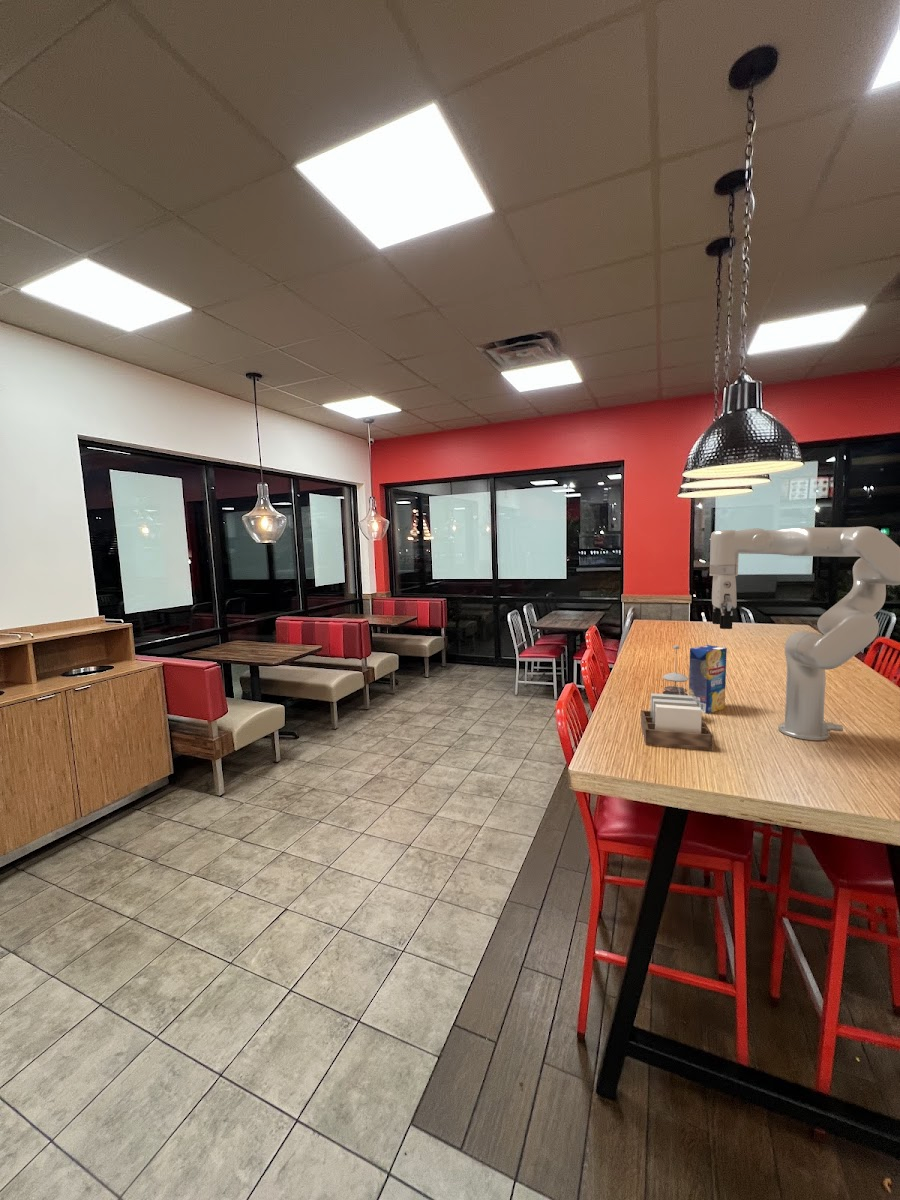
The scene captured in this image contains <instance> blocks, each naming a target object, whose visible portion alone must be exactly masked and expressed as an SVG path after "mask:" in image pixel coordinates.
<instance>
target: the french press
mask: <svg viewBox="0 0 900 1200" xmlns="http://www.w3.org/2000/svg"><path fill="white" fill-rule="evenodd" d="M672 648H673V649H674V650H675V653H677V652H678V651H677V650H679V649H680V646H679V645H678V644H675V645H673V647H672ZM674 668H675V669H674V672H670V673H666V674H664V675H663V676H661V677H662V679H663V680H665V681H668V682H673V683H674V686H672V685H671V686H669V685H668V686H665V687H663V689H664V691H662V694H670V695H686V696H689V693H687V692H688V689H686V688H685V686H684V684H682V685H681V686H679V684H677V685H676V683H684V682H687V681H689V676H686V675H685V674H682V673H678V672H677V660H675V666H674Z"/></svg>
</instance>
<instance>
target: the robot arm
mask: <svg viewBox="0 0 900 1200" xmlns="http://www.w3.org/2000/svg"><path fill="white" fill-rule="evenodd" d="M710 534H711V535H710V543H709V544H710V546H709V547H710V548H709V549H710V550H709V551H710V552H709V576H710V577H712V588H711V590H712V591H711V603H712V604H711V605H712V619H711V620H712V624H713V625H719V629H721V630H732V629H733V610H734V609H736V608H737V580H736V579H737V576H739V554H741V555H744V554H746V555H781V556H789V557H790V556H791V557H792V556H793V557H796V556H797V557H838V558H839V557H841V558H842V557H843V558H844V557H845V558H847V557H860V558H858V559H857V560H856V561H855V562H854V565H853V566H852V578H853V584H852V588H851V589H850V591H849V592H848V593H847V594H846V595H845V596H844V597H843V598H841V599H840V600H839V601H837V603H835V604H834V605H833V606H831V607H830V608H829V609H828V610H826V611H825V612H824V613H822V615H820V616H819V618H818V620H817V624H816V625H817V629H818V631H819V632H821V633H822V634H821V633H818V632H814V631H811V630H810V631H809V630H799V631H798V630H797V631H796V632H793V633H791V634H790V635H789V636H788V637H787V638H786V640H785V643H784V654H785V656H784V657H785V661H786V662H785V663H786V686H785V703H784V704H785V705H784V706H785V707H784V708H785V709H784V722H782V723H780V724H778V727H777V728H778V731H779V732H781V733H782V734H784V735H787V736H789V737H792V738H797V739H800V740H807V741H824V740H828V739H829V738H830V733H829V732H831V731H834V732H843V731H844V727H843V725H842V724H835V723H834V722H828V721H827V722H826V720H824V716H825V715H824V714H825V699H826V698H825V697H826V683H827V682H826V680H827V678H826V670H827V671H830V670H834V669H836V668H839V667H841V666H842V665H844V664H845V663H847V662H848V661H849V660H851V659H853V658H854V656H856V655H857V654H859V653H860V652H862V650H864V649H865V648H867V647H868V646H869V645H870V644H871V643H872V642H873V641H874V640H875V638H876V637H877V636H878V634H879V629H880V624H879V621H878V619H877V617H875V614H877V613H878V612H879V611H880V610H881V609H882V608H883V606H884V604H885V602H886V597H887V596H886V595H887V589H886V588H887V587H886V585H887V586H899V585H900V546H899V545H898V544H897V543H895V542H894V541H893V540H892V538H890V537H889V536H887V535H886V534H885V533H884V532H882V531H881V530H879V529H878V528H876V527H873V526H867V525H866V526H856V527H855V526H852V527H851V526H850V527H817V526H816V527H815V526H814V527H810V526H808V527H805V526H804V527H792V528H791V527H790V528H785V529H784V528H783V529H763V528H747V529H746V528H745V529H740V530H736V529H721V530H714V531H713V532H711V533H710Z"/></svg>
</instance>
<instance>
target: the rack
mask: <svg viewBox="0 0 900 1200" xmlns="http://www.w3.org/2000/svg"><path fill="white" fill-rule="evenodd" d="M640 725H641V732H642V735H644V736H643V739H644V743H645V745H646V746H655V745H659V746H658V747H666V746H667V747H668V748H678V749H679V748H680V749H688V750H689V749H690V750H699V751H710V752H711V751H712V752H713V744H714V743H713V741H714V740H713V737H714V735H713V733H712V732H711V730H710V729H709V726H708V725H707V724H706V722H705V720H704V719H703V716H702V717H701V733H689V732H677V731H665V730H655V723H652V717H651V710H640ZM667 747H666V748H667Z"/></svg>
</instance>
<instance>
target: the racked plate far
mask: <svg viewBox="0 0 900 1200" xmlns="http://www.w3.org/2000/svg"><path fill="white" fill-rule="evenodd" d="M653 699H667V700H683V701H693V699H694V698H693V697H692V696H689V695H688V696H686V695H670V694H663V693H650V711H651V717H652V715H653Z"/></svg>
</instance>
